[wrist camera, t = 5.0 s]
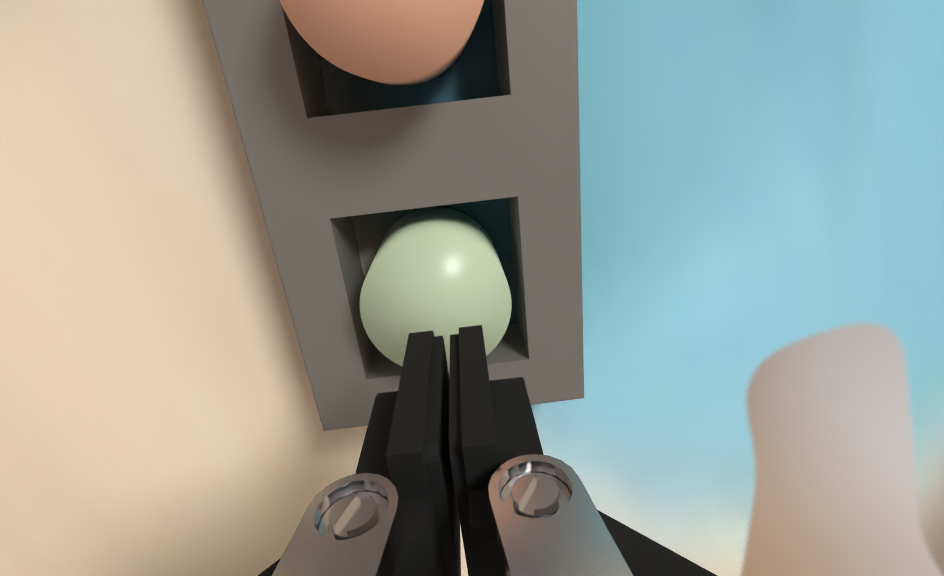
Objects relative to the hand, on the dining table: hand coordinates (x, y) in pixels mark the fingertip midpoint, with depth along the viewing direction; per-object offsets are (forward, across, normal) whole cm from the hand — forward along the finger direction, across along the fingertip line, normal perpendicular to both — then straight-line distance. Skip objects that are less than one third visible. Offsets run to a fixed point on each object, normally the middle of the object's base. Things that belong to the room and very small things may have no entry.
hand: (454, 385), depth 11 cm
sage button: (+8, +1, 0) cm, 8 cm away
